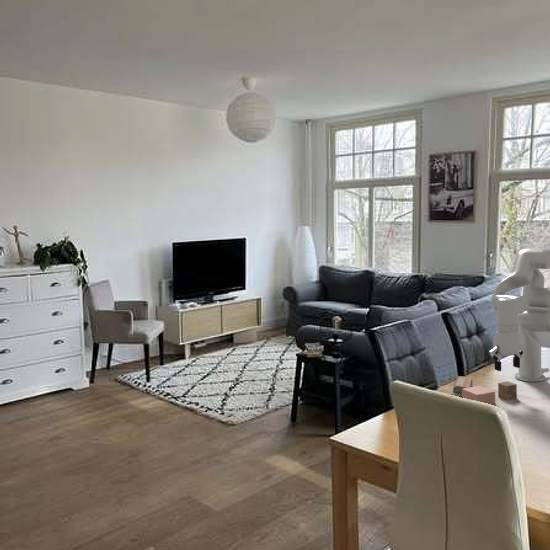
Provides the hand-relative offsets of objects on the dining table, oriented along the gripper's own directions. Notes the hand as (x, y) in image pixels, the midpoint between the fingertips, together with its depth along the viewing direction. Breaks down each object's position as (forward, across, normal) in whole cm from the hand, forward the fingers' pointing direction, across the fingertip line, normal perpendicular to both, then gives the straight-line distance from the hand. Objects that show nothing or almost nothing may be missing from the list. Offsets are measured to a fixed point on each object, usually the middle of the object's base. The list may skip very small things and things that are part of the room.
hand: (507, 368), depth 227 cm
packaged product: (+13, +10, -16) cm, 23 cm away
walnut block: (+12, 0, 0) cm, 12 cm away
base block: (+12, +14, -1) cm, 19 cm away
